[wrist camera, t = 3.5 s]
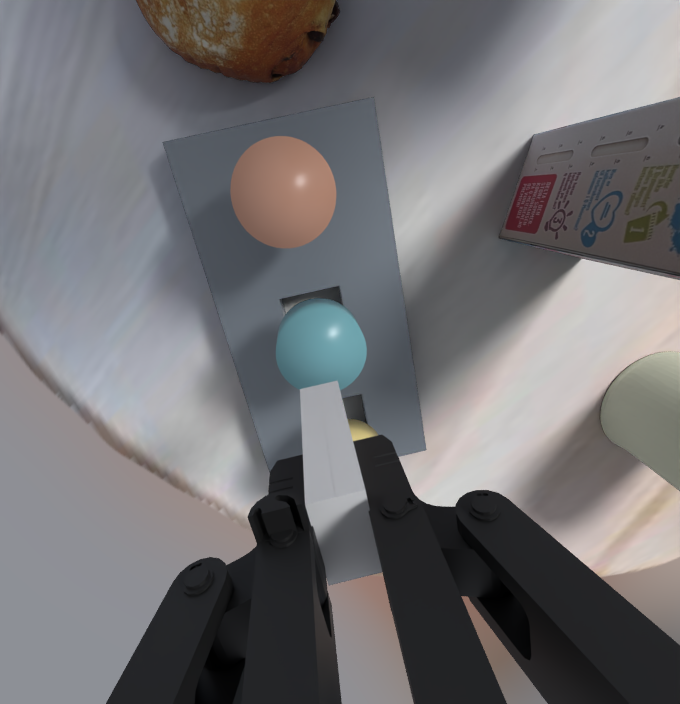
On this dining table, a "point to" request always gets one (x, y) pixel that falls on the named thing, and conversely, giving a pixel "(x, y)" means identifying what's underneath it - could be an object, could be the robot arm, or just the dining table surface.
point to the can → (647, 413)
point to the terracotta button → (283, 192)
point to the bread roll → (242, 33)
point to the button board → (305, 271)
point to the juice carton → (605, 191)
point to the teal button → (320, 344)
